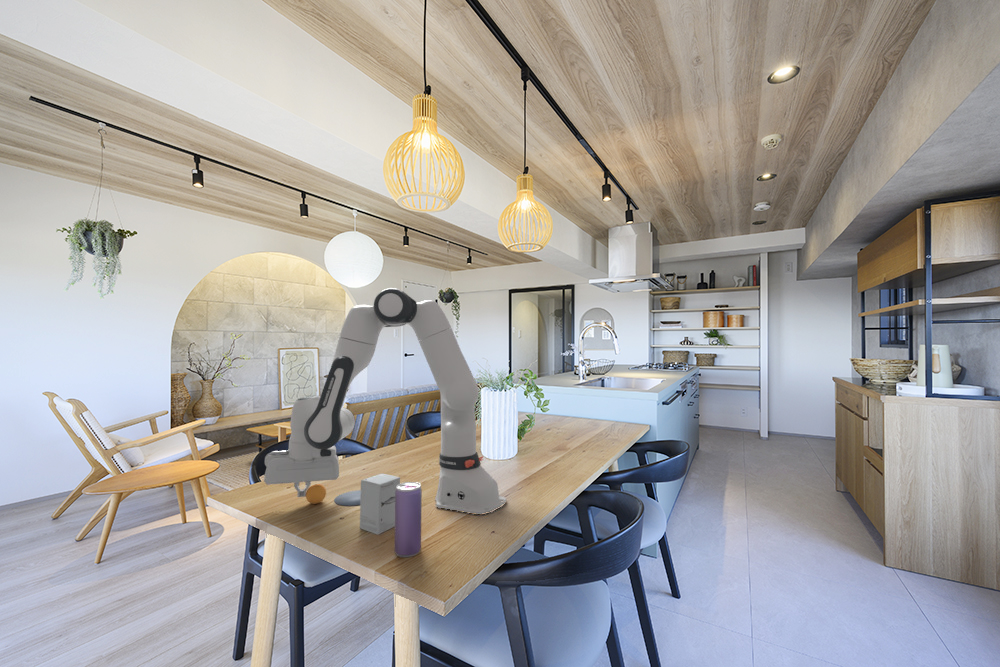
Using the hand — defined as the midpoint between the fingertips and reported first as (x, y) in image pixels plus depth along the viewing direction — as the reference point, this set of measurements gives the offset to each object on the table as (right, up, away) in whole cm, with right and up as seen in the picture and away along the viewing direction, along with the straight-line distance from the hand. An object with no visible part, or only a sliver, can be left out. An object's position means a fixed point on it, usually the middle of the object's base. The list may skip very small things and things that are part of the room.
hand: (301, 496), depth 120 cm
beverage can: (+38, -2, -28) cm, 48 cm away
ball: (+4, 0, +1) cm, 4 cm away
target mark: (+14, -3, +6) cm, 16 cm away
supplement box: (+28, -2, -15) cm, 32 cm away
